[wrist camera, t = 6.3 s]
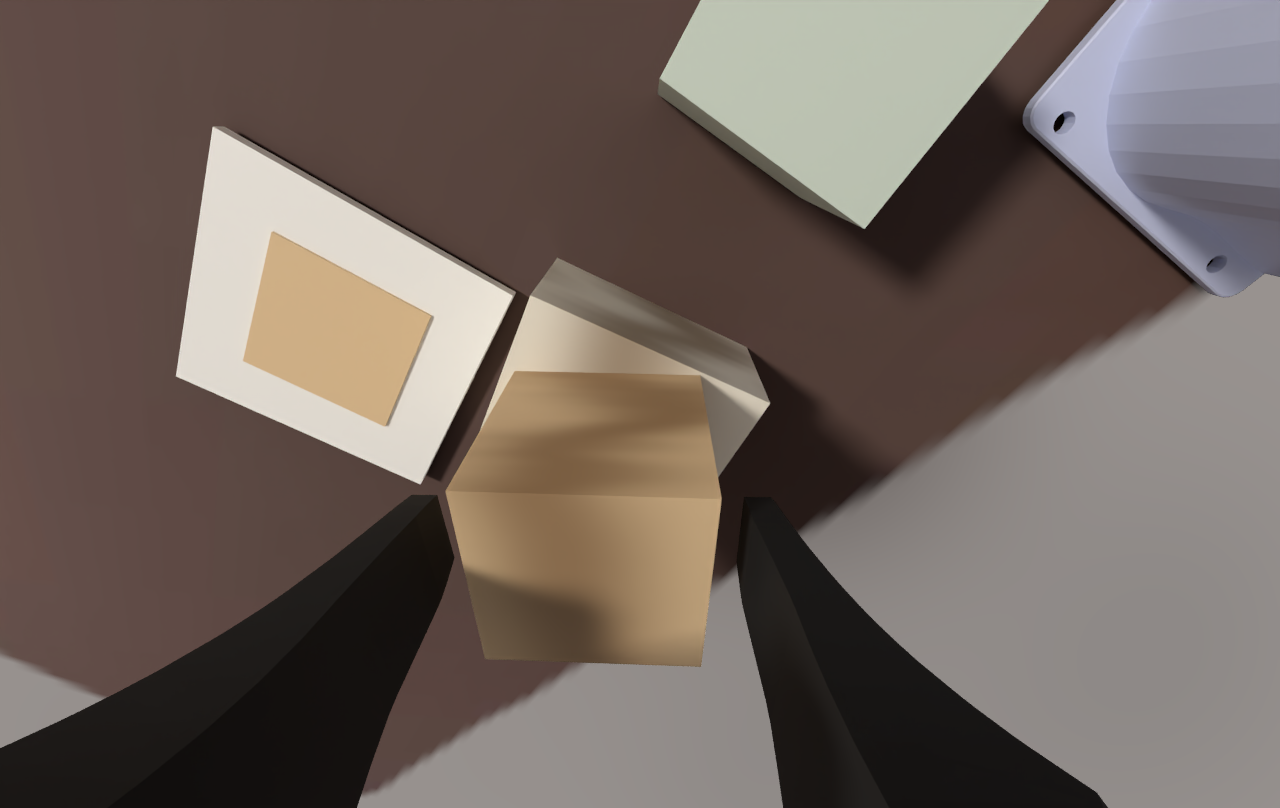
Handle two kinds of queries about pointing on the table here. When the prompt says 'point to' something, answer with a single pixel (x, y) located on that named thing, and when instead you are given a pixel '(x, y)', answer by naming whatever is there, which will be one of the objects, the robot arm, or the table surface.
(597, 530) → the oak cube
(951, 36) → the sage cube
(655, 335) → the base block
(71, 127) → the table surface
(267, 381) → the card
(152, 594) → the table surface
